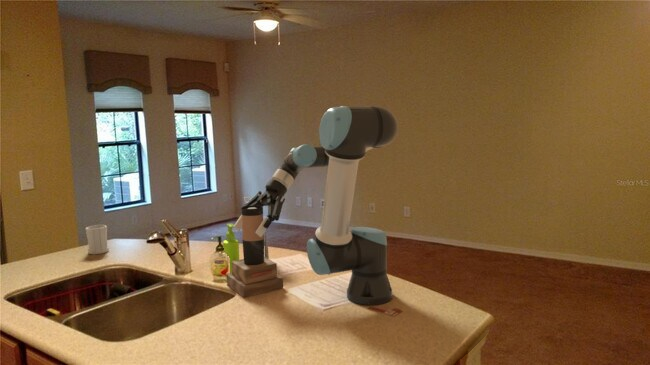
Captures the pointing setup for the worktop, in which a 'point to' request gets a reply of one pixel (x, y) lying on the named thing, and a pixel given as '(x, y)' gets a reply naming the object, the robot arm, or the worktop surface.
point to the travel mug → (252, 235)
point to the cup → (97, 239)
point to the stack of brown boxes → (254, 278)
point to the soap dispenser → (231, 245)
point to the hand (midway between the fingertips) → (246, 231)
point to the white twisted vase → (265, 237)
